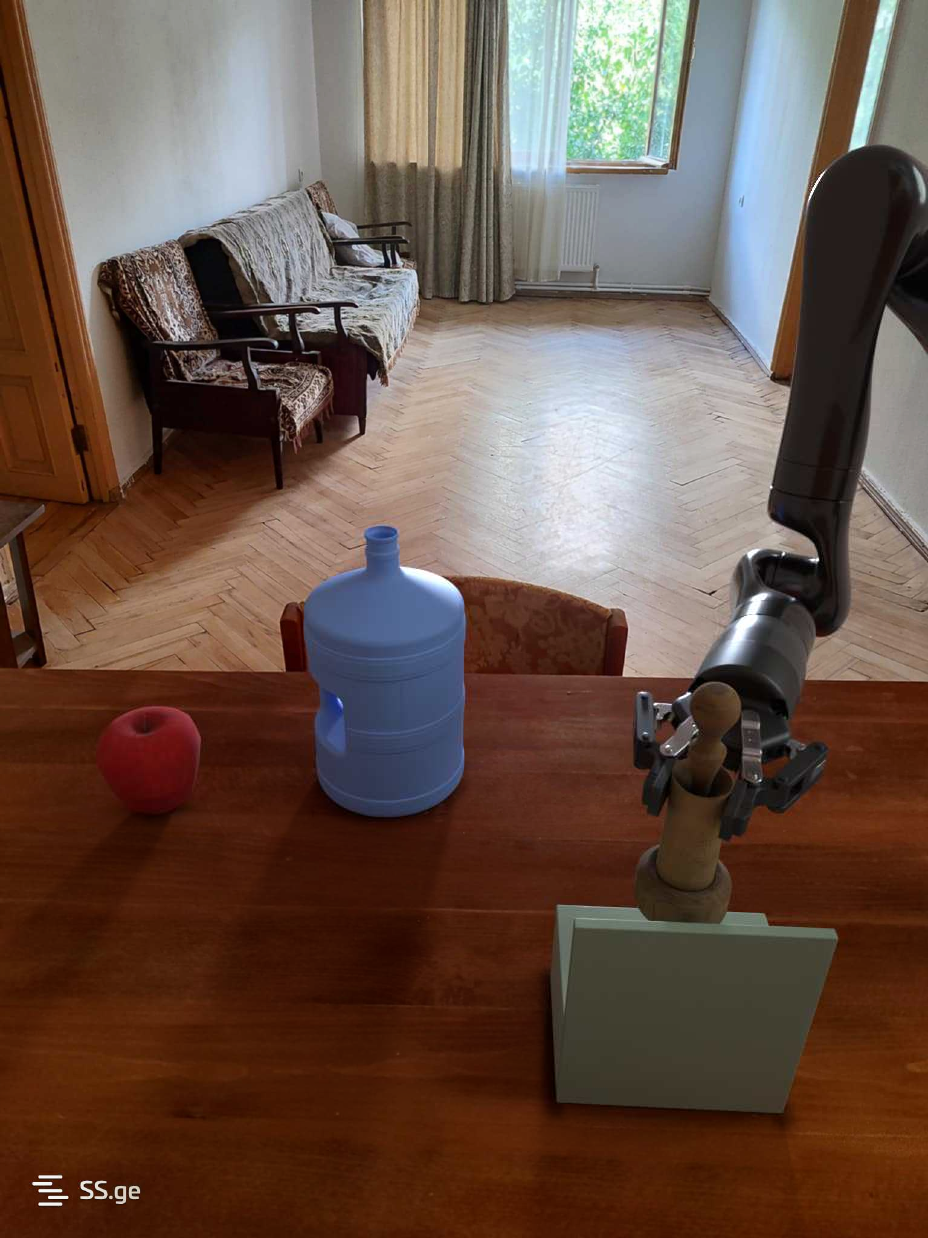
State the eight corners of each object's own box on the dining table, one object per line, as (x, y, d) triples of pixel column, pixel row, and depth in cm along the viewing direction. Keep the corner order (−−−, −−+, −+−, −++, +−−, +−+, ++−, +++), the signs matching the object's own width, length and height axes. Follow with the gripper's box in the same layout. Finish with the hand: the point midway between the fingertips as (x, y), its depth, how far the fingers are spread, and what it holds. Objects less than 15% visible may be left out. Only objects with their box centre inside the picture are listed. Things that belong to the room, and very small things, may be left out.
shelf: (747, 984, 72) (789, 816, 63) (782, 1114, 62) (838, 939, 54) (550, 975, 72) (564, 808, 63) (556, 1103, 63) (574, 927, 54)
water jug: (475, 736, 100) (479, 506, 86) (448, 831, 87) (449, 577, 73) (342, 721, 102) (326, 494, 89) (297, 811, 89) (269, 561, 75)
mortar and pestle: (721, 949, 58) (770, 731, 49) (624, 921, 60) (654, 707, 51) (732, 878, 64) (778, 670, 55) (642, 854, 66) (672, 650, 57)
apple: (192, 760, 96) (177, 676, 91) (223, 810, 89) (209, 723, 84) (98, 792, 91) (76, 706, 86) (123, 848, 84) (101, 759, 79)
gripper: (665, 616, 69) (586, 736, 56) (858, 664, 63) (821, 809, 50) (654, 695, 73) (577, 824, 60) (835, 747, 67) (795, 902, 54)
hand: (689, 816), depth 55 cm, fingers closed on mortar and pestle, 4 cm apart
